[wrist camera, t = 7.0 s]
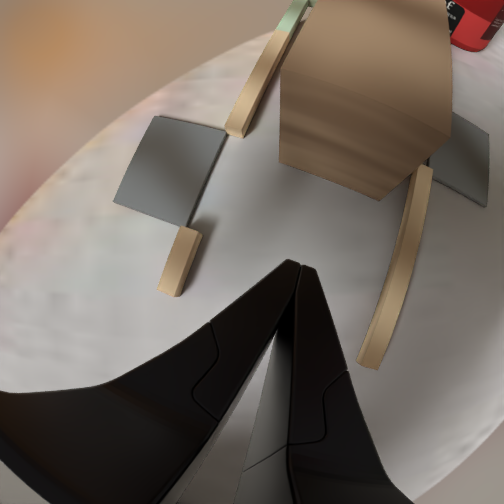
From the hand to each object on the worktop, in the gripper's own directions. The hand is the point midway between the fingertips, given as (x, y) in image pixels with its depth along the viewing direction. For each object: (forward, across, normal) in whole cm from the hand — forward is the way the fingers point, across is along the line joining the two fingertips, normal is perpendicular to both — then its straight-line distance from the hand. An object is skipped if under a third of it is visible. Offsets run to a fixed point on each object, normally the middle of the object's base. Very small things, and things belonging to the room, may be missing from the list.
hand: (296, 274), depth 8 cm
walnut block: (+14, -1, -4) cm, 15 cm away
